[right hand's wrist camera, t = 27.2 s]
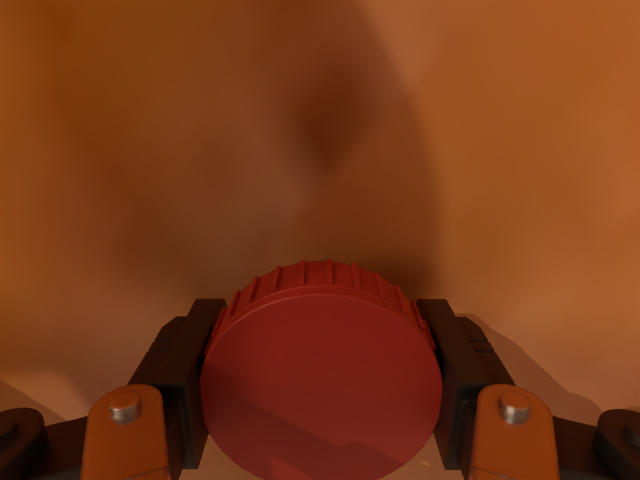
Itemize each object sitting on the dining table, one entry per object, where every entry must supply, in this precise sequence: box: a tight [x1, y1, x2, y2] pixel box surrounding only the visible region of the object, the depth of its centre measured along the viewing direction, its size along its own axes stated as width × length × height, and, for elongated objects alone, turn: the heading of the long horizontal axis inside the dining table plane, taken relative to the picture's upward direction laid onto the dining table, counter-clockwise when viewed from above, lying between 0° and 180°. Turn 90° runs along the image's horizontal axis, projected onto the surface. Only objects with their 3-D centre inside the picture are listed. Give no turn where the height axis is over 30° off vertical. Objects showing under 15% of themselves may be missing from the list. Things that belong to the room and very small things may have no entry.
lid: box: [199, 259, 443, 480], centre depth 10 cm, size 6×6×2 cm
